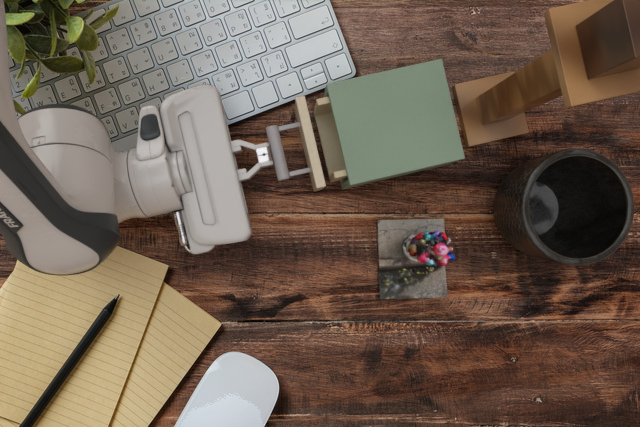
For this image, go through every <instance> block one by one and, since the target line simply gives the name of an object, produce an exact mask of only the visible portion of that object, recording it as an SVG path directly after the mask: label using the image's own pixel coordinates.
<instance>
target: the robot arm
mask: <svg viewBox="0 0 640 427" xmlns="http://www.w3.org/2000/svg"><path fill="white" fill-rule="evenodd" d="M7 26H8V25H7V16H6V7H5V1H4V0H0V234H1V236H2V237H3V239H4V243H5V247H6V250H7V251H8V252H9V253H10V255H12V257H14V258H15V259H16V260H17V261H18V262H20V263H21V264H22V265H24V266H26V267H27V268H29V269H31V270H33V271H35V272H37V273H40V274H45V275H49V276H58V277H59V276H62V277H63V276H75V275H80V274H85V273H87V272H90V271H92V270H94V269H96V268H97V267H99V266H100V265H101V264H102V263H104V261H106V260H107V259H108V257H110V255H111V254H112V253H113V252H114V251H115V249H116V248H117V247H118V245H119V244H120V243H121V241H122V236H121V232H120V224H121V223H123V222H125V221H127V220H131V219H135V218H139V219H148V218H153V217H157V216H160V215H165V214H170V213H172V217H173V220H174V224H175V227H176V230H177V234H178V241H179V244H180V245H181V247H184V249H185V251H187V252H188V253H189V254H192V255H201V254H205V253H209V252H212V251H213V250H214V249H215V248H216V247H217V246H220V245H227V244H228V245H229V244H235V243H241V242H245V241H248V240H249V239H250V238H251V237H252V235H253V233H254V230H253V226H252V221H251V218H250V213H249V208H248V205H247V201H246V195H245V191H244V187H243V183H242V182H246V181H251V179H253V178H254V176H256V175H257V174H258V173H259V172H260V171H261V170H262V169H265V168H269V167H273V166H274V162H273V158H272V153H271V149H270V145H269V141H268V142H267V141H266V142H261V143H257V144H255V143H252V142H249V141H246V140H243V139H235V140H232V137H231V133H230V128H229V124H228V120H227V115H226V111H225V107H224V103H223V99H222V95H221V92H220V90H219V89H218V87H216V86H214V85H212V84H208V83H205V84H199V85H196V86H192V87H189V88H186V89H183V90H180V91H177V92H174V93H173V94H170V95H168V96H167V97H166V98H164V99H163V100H162V102H161V104H160V106H159V107H158V106H157V105H154V104H150V105H145V106H142V107H141V108H140V110H139V115H138V126H137V127H138V128H137V139H136V145H135V147H134V148H129V149H127V150H125V151H118V150H116V149H115V147H114V146H113V142H112V138H111V136H110V133H109V131H108V128H107V127H106V125H105V123H104V122H103V121H102V120H101V119H100V118H99V116H97V115H95V114H94V113H93V112H92V111H90V110H88V109H86V108H85V107H82V106H78V105H75V104H70V103H50V104H49V103H48V104H43V105H38V106H36V107H33V108H31V109H29V110H27V111H25V112H24V113H22V114H21V115H20V116H19V117H18V114H17V111H16V107H15V102H14V95H13V89H12V80H11V70H10V58H9V43H8V28H7ZM243 149H246V150H248V151H252V152H255V153H256V157H257V161H258V162H257V163H256V164H255V165H254V166H253V167H251V168H250V169H249V170H248V169H246V168H245V167H244V168H239V167H238V162H237V159H236V155H239V154H241V153H243V152H244V150H243Z"/></svg>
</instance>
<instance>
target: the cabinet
mask: <svg viewBox="0 0 640 427" xmlns="http://www.w3.org/2000/svg"><path fill="white" fill-rule="evenodd" d="M328 96H329V100H330V105H331V109H332V113H333V117H334V122H335V126H336V130H337V134H338V139H339V143H340V147H341V151H342V156H343V160H344V164H345V168H346V173H347V177H348V178H347V179H343V180H339V183H340V188H341V190H342V191H343V190H346V189H351V188H356V187H360V186H364V185H368V184H373V183H377V182H382V181H385V180H389V179H394V178H397V177H403V176H406V175H410V174H411V175H412V174H415V173H419V172H424V171H428V170H432V169H436V168H437V169H438V168H441V167H444V166H446V165H450V164H452V163H455V162H459V161H463V160H465V159H466V156H465V152H464V149H463V143H462V139H461V135H460V131H459V125H458V121H457V117H456V113H455V109H454V104H453V100H452V97H451V91H450V88H449V83H448V78H447V74H446V70H445V67H444V62H443V58H439V59H438V58H437V59H433V60H429V61H424V62H420V63H415V64H409V65H406V66H401V67H396V68H392V69H387V70H383V71H378V72H375V73H369V74H364V75H359V76H356V77H352V78H347V79H343V80H337V81H333V82H328V83H326V85H325V88H324V91H323V96H322V98H324V97H328Z"/></svg>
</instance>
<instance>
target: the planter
mask: <svg viewBox="0 0 640 427" xmlns="http://www.w3.org/2000/svg"><path fill="white" fill-rule="evenodd" d="M635 207H636V206H635V197H634V193H633V189H632V186H631V184H630V182H629V179H628V177H627V176H626V174H625V173H624V171H623V169H621V168H620V166H618V164H616V163H615V162H614V161H613V160H612V159H610V158H609V157H607V156H605V155H604V154H602V153H600V152H597V151H595V150H591V149H586V148H568V149H567V148H565V149H562V150H557V151H554V152H551V153H548V154H545V155H542V156H539V157H536V158H533V159H531V160H527V162H523V163H522V164H521V165H519V166H517V167H515V168H514V169H512V170H511V171H510V172H509V173H508V174H507V175H506V176H505V177H504V178H503V180H502V181H501V182H500V184H499V185H498V187H497V188H496V191H495V193H494V198H493V202H492V213H493V219H494V224H495V226H496V228H497V230H498V231H499V233H500V235H501V236H502V237H503V238H504V240H505V241H506V242H507V243H508V244H509V245H511V246H512V247H513V248H515V249H516V250H518V251H519V252H521V253H524V254H525V255H528V256H530V257H533V258H536V259H540V260H544V261H547V262H551V263H555V264H559V265H563V266H571V267H581V266H589V265H592V264H597V263H599V262H602V261H604V260H605V259H607V258H609V257H610V256H612V255H613V254H614V253H616V251H617V250H618V249H619V248H620V247H621V246H622V245H623V243H624V242H625V240H626V239H627V237H628V236H629V234H630V232H631V228H632V226H633V222H634V217H635Z"/></svg>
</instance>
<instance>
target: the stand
mask: <svg viewBox="0 0 640 427" xmlns="http://www.w3.org/2000/svg"><path fill="white" fill-rule="evenodd" d="M612 1H613V0H582V1H578V2H574V3H569V4H565V5H560V6H554V7H551V8H548V9H547V10H545V12H544V11H543V12H544V13H543V18H544V22H545V27H546V30H547V36H548V39H549V44H550V48H551V49H550V50H548V51H547V52H545V53H544V54H543V53H542V55H540V56H539V57H537V58H535V59H534V60H532V61H531V62H529V63H528V64H526V65H525V66H523V67H521V68H520V69H519V70H517V71H515V70H513V71H508V72H504V73H499V74H495V75H490V76H486V77H481V78H477V79H472V80H468V81H463V82H459V83H454V84H453V85H452V86H451V89H452V93H453V97H454V101H455V102H454V103H455V106H456V111H457V115H458V118H459V124H460V128H461V132H462V137H463V141H464V145H465V148H471V147H476V146H480V145H484V144H488V143H494V142H498V141H501V140H502V141H503V140H505V139H510V138H515V137H519V136H523V135H527V134H529V133H530V130H529V125H528V120H527V117H526V112H528V111H530V110H533V109H535V108H537V107H539V106H542V105H544V104H546V103H549V102H551V101H553V100H555V99H557V98H560V97H562V99H563V104H564V109H566V110H567V109H571V108H577V107H581V106H585V105H589V104H593V103H597V102H603V101H606V100H611V99H615V98H619V97H624V96H628V95H633V94H638V93H640V68H638V69H634V70H629V71H625V72H620V73H616V74H612V75H607V76H603V77H598V78H594V79H590V80H588V78H587V74H586V69H585V65H584V61H583V56H582V52H581V48H580V43H579V39H578V35H577V30H576V25H577V24H579V23H580V22H582V21H583V20H585V19H586V18H588V17H589V16H591V15H592V14H594V13H595V12H597V11H598V10H600V9H601V8H603V7H604V6H606V5H607V4H609V3H610V2H612Z"/></svg>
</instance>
